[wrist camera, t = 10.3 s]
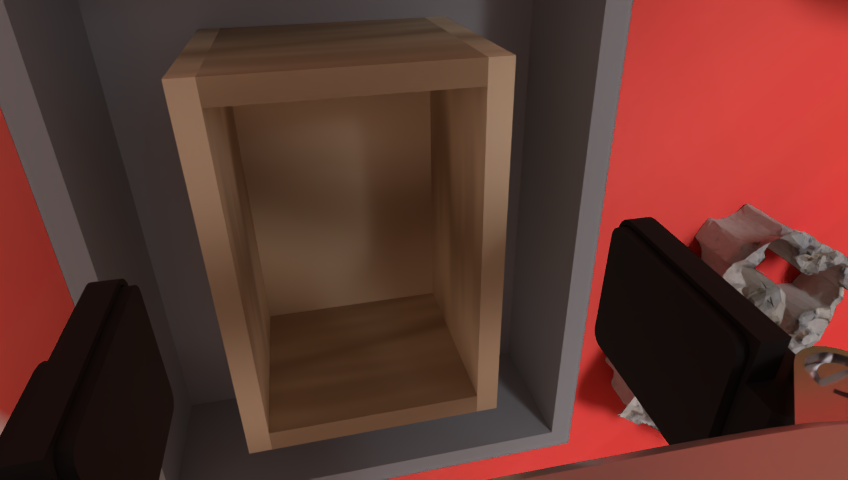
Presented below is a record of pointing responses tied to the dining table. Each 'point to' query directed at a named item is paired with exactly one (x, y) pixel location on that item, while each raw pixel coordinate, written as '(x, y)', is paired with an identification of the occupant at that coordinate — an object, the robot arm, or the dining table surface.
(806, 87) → the dining table surface
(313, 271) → the pine crate
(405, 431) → the grey tote
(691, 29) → the dining table surface
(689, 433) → the robot arm
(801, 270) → the egg carton
